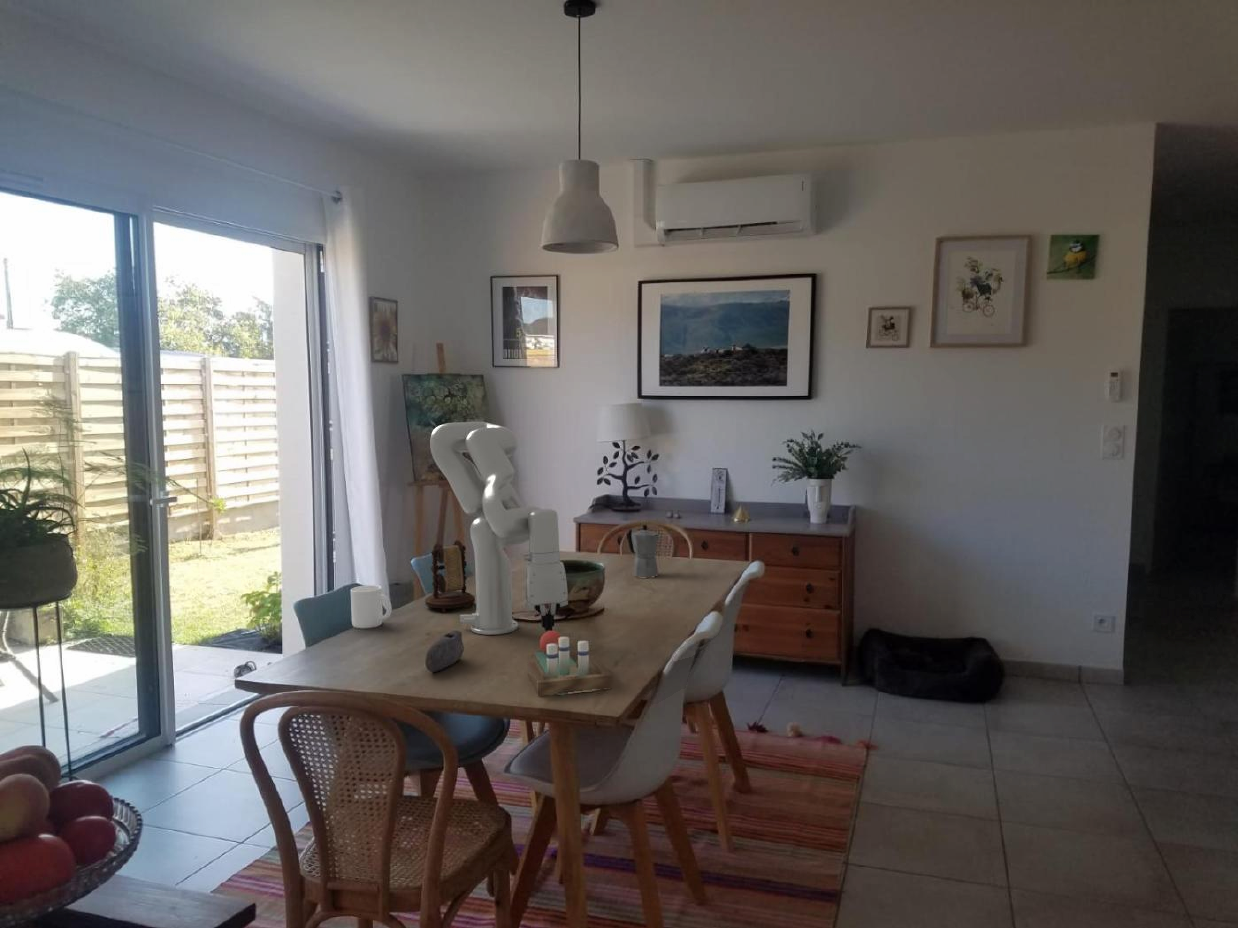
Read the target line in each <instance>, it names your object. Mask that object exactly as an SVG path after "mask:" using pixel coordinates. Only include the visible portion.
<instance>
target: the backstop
mask: <svg viewBox="0 0 1238 928" xmlns="http://www.w3.org/2000/svg"><path fill="white" fill-rule="evenodd" d="M589 671H592V672H591V673H592V674H589V675H585V676H575V677H565V678H555V679H545V678H544V677H543V674H542V673H541V671H540V668H539V667H538V665H537V664H536V662H535V661H528V662H527V676H528V679H529V678H530V679H529V680H531V681H530V683H531V682H532V683H531V685H532V684H533V685H532V686H534V687H533V688H535V689H534V691H535V690H536V691H535V693H536V692H537V693H536V695H537V694H538V695H537V697H538V696H540V697H543V696H542V695H550V696H553V695H552V694H560V693H568V692H574V691H583V690H592V689H604V688H613V687H612V680H613V679H612V677H613V676H612V674H611V673H610V671H609V670H608V669H607V668H606V667H605V665H604V664H603V662H602V661H601V660H600V658H598V656H597V655H591V656H589ZM593 673H594V674H593Z"/></svg>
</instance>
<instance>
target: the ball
mask: <svg viewBox="0 0 1238 928" xmlns="http://www.w3.org/2000/svg"><path fill="white" fill-rule="evenodd" d="M560 637H564V636H563V635H562V634H561V633H560V632H559V631H556V630H552V631H550V630H549V631H545V632H544V633H543V634H542V635H541V636H540V640H539V647H540V650H541V652H544V653H545V654H547V644H557V645H558V654H559V638H560Z"/></svg>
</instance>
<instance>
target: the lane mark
mask: <svg viewBox="0 0 1238 928" xmlns="http://www.w3.org/2000/svg"><path fill="white" fill-rule="evenodd" d="M534 655H535V657H536V659H537V661H538V662H539V665H540V667H541V668H542V670H543V672H544V674H545V673H547V654H545V653H544V652H543V651H541V652H540V651H538V652H534ZM569 659H570V665H577V663H576V662H575V660H574V659H573V657H572V656H571V654H570V653H569ZM544 665H545V666H544ZM558 665H559V654H558ZM558 673H559V666H558ZM570 673H574V672H573V671H572V672H571V670H570ZM575 673H578V671H577V672H575ZM564 694H568V693H564ZM564 694H563V693H560V694H557V695H561V696H565V695H564ZM557 695H556V696H557Z"/></svg>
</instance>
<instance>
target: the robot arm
mask: <svg viewBox="0 0 1238 928" xmlns="http://www.w3.org/2000/svg"><path fill="white" fill-rule="evenodd" d="M429 446H430V453H431V455H432V458H433V460H434V463H435V465H436V466H437V467H438V469H439V470H440V471H441V473H442V474H443V475H444V477H445V478H446V479H447V481H448V483H449V485H450V487H451V489H452V491H453V493H454V495H455V497H456V499H457V501H458V503H459V504H460V507H461V508H462V510H463V512H464V513H465V514H466V515H468V516H470V517H476V518H475V519H474V520H473V522H472V523H471V525H470V530H469V531H470V534H469V535H470V539H471V542H472V547H473V549H472V550H473V554H474V569H475V571H474V572H475V604H476V605H475V607H476V609H475V612H474V613H473V612H472V613H471V614H459V615H460V616H459V618H460V619H459V621H460V623H461V622H462V623H463V624H469V623H470V624H471V623H472V624H471V625H470V630H471V631H472V632H473V633H475V634H478V635H488V636H489V635H490V636H491V635H503V634H508V633H511V632H514V631H516V630H517V629H518V627H519V626H518V622H517V621H516V620H515V619H513V616H512V615H513V614H512V612H513V611H512V607H513V604H512V572H511V569H512V566H511V560H510V559H509V556H508V555H507V553H506V551H505V550H504V548H506V547H511V546H516V545H521V544H524V543H527V541H528V542H529V543H528V547H529V552H528V554H526V555H525V554H524V555H523V560H524V561H527V562H529V563H528V564H527V566H526V576H525V578H526V579H525V597H526V603H525V607H526V609H527V610H534V611H536V612H537V613H539V614H540V616H541V617H540V618H541V621H540V622H541V627H542V628H543V629H544V631H545V632H548V631H553V628H554V627H555V614H556V612H557V611H558V610H559V609H560V608H563V607H564V606H568V604H569V601H568V599H569V598H568V594H569V592H568V582H567V577H566V576H567V575H566V569H565V565H564V562H563V561H561V560H560V559H561V557H560V541H559V540H560V536H559V535H560V534H559V517H558V512H557V511H556V510H555V509H552V508H540V507H538V506H537V507H536V506H525V507H524V504H523V502H522V501H521V499H520V497H519V495H518V494H517V492H516V490H515V488H514V487H513V486H512V485H511V481H512V480H513V479H514V477H515V468H514V467H513V465H512V464H511V461H510V460H509V457H511V456H513V455H514V454H515V453H516V452H517V449H518V439H517V436H516V435H515V433H514V431H512V429H510V428H509V427H506V426H503V425H498V424H494V423H492V422H491V423H490V422H487V421H486V422H485V421H466V422H465V421H461V422H458V421H457V422H448V423H443V424H441V425H438V426H436V427H435V428H434V429H433V430H432V432H431V435H430V440H429ZM462 453H469V456H470V457H471V460H472V461H473V462H472V461H471V460H469V459H468V458H466V457H465V456H464V455H463V454H462ZM545 605H548V611H546V606H545Z"/></svg>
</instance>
